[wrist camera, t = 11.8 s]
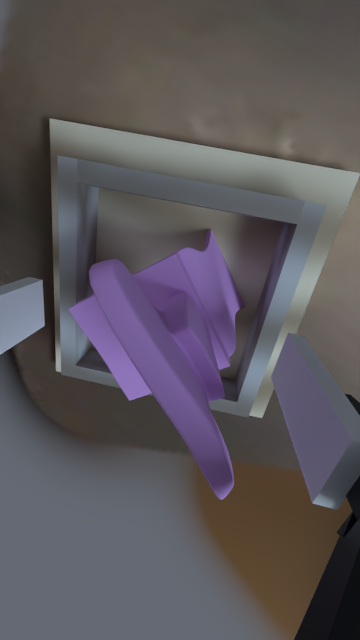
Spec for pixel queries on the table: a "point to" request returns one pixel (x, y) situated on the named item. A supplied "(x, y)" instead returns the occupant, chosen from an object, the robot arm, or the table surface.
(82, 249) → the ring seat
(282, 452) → the table surface
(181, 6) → the table surface
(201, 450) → the toy chair
